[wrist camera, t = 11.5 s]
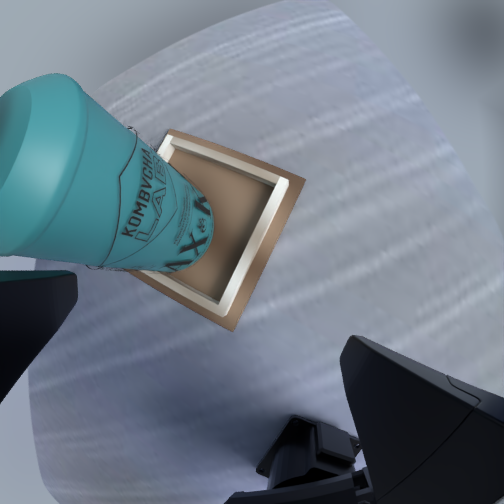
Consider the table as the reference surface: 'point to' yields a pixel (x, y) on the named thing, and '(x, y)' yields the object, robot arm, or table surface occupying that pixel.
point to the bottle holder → (227, 226)
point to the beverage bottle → (91, 186)
